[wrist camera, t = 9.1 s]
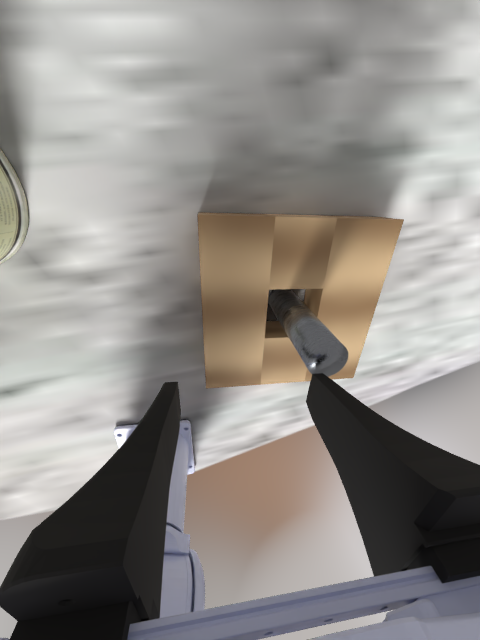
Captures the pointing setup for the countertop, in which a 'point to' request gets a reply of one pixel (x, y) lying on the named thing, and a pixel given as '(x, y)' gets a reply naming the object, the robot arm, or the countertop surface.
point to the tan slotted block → (286, 273)
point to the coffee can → (11, 211)
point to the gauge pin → (308, 334)
